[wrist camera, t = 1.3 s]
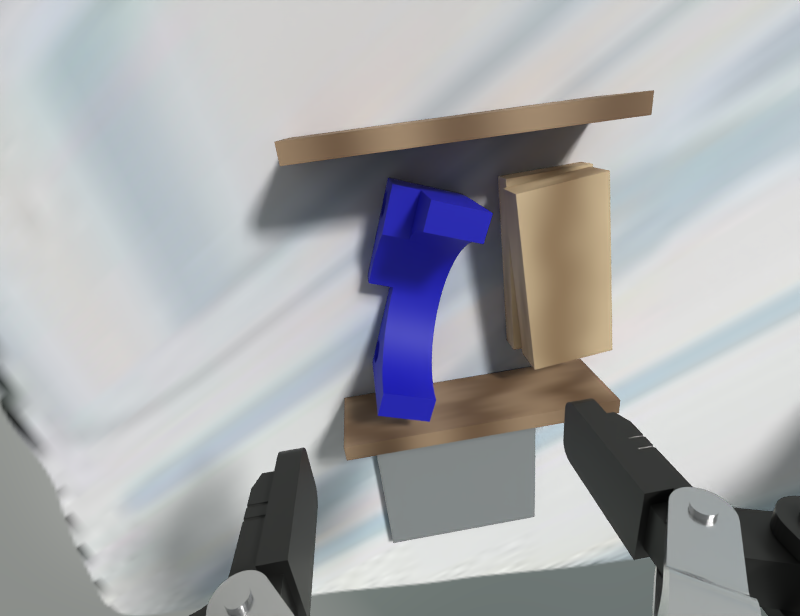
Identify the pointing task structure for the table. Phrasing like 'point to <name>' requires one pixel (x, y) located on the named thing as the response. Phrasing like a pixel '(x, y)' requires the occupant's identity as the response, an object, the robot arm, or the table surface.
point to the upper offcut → (562, 264)
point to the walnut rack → (491, 393)
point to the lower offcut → (509, 286)
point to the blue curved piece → (415, 287)
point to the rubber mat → (459, 484)
